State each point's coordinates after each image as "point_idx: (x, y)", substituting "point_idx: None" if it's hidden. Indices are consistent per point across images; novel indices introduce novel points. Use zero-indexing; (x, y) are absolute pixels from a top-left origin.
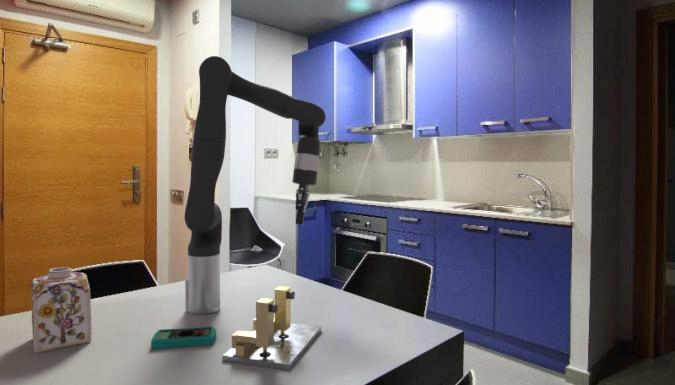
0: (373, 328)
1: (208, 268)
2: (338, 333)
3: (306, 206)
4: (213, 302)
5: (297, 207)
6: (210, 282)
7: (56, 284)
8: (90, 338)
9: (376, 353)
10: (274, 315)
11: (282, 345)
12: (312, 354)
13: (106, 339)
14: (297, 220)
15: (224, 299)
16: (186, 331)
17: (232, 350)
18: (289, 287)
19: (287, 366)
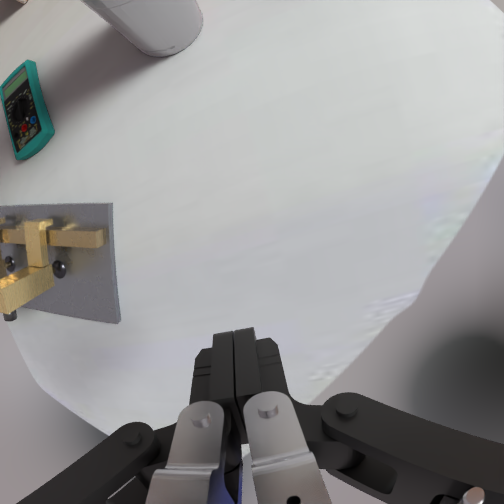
0: (168, 399)
1: (89, 7)
2: (124, 349)
3: (379, 470)
4: (140, 47)
5: (121, 451)
6: (112, 25)
7: None
8: (21, 2)
9: (88, 397)
10: (84, 235)
11: None
12: (48, 320)
13: (31, 9)
14: (195, 363)
15: (257, 23)
16: (28, 101)
17: (4, 212)
18: (5, 312)
19: None
